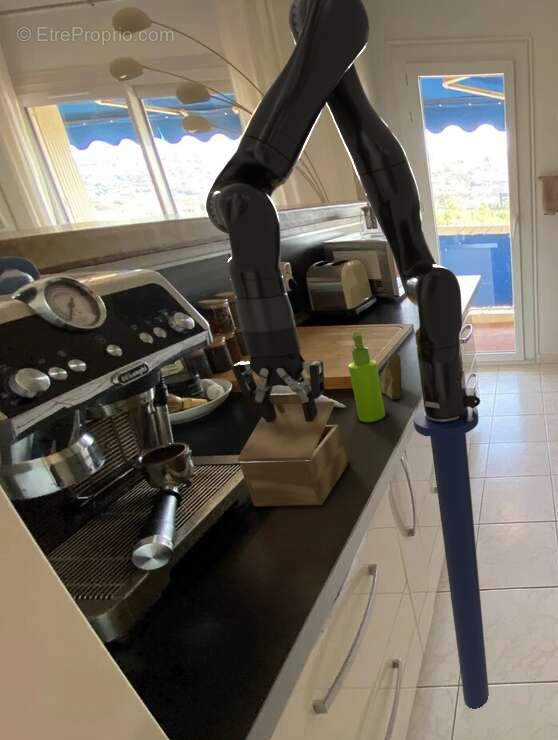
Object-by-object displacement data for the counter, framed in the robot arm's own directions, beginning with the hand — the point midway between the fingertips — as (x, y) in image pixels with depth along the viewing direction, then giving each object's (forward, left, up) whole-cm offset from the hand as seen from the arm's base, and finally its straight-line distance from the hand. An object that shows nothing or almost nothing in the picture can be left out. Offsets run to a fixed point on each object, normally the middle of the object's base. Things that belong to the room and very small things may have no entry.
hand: (291, 419), depth 77 cm
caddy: (0, +1, -12) cm, 12 cm away
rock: (-5, -39, -13) cm, 41 cm away
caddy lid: (0, +1, -2) cm, 2 cm away
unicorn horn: (+15, -35, -13) cm, 40 cm away
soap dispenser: (-4, -26, -13) cm, 29 cm away
